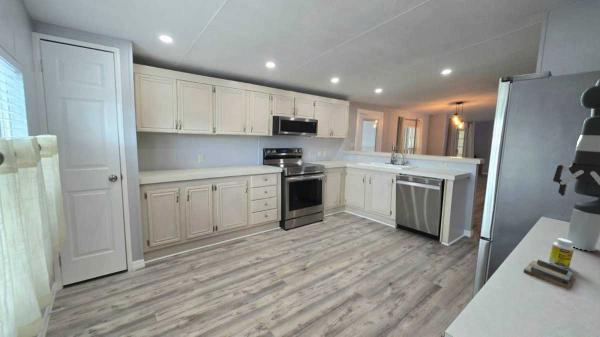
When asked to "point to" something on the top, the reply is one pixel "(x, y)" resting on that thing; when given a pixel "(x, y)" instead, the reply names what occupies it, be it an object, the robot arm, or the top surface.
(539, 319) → the top surface
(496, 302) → the top surface
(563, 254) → the supplement bottle
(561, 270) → the notched cradle board
